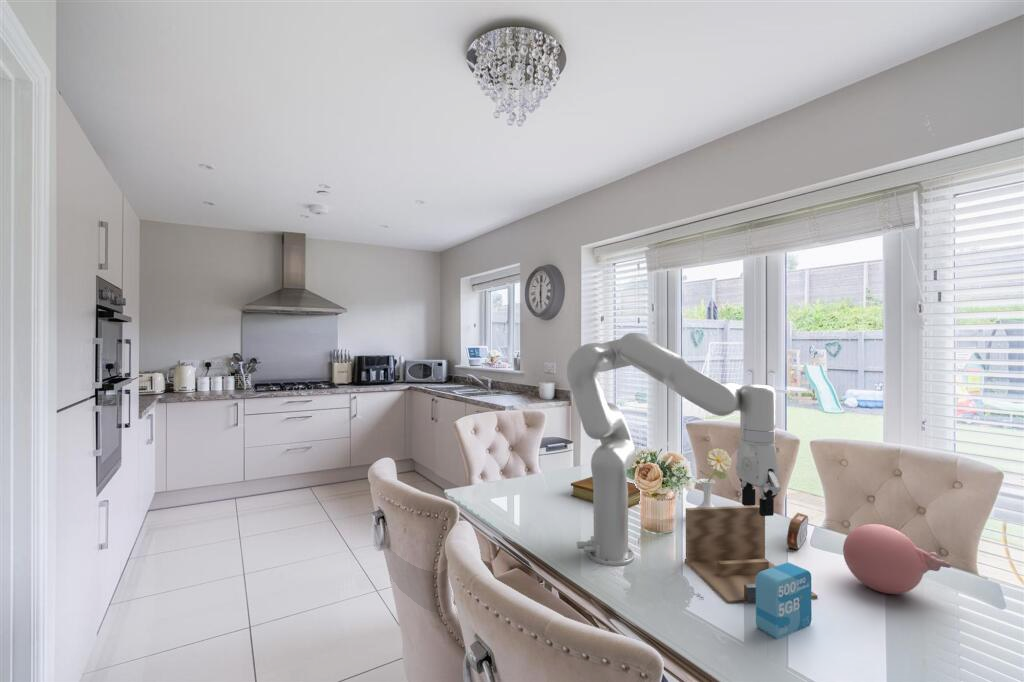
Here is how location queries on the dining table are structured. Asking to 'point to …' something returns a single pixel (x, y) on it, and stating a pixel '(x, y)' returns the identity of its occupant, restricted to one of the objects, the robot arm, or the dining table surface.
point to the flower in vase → (719, 463)
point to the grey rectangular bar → (750, 592)
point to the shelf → (727, 548)
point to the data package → (783, 599)
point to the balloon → (887, 559)
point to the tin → (797, 531)
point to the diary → (585, 491)
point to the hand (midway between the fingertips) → (757, 509)
